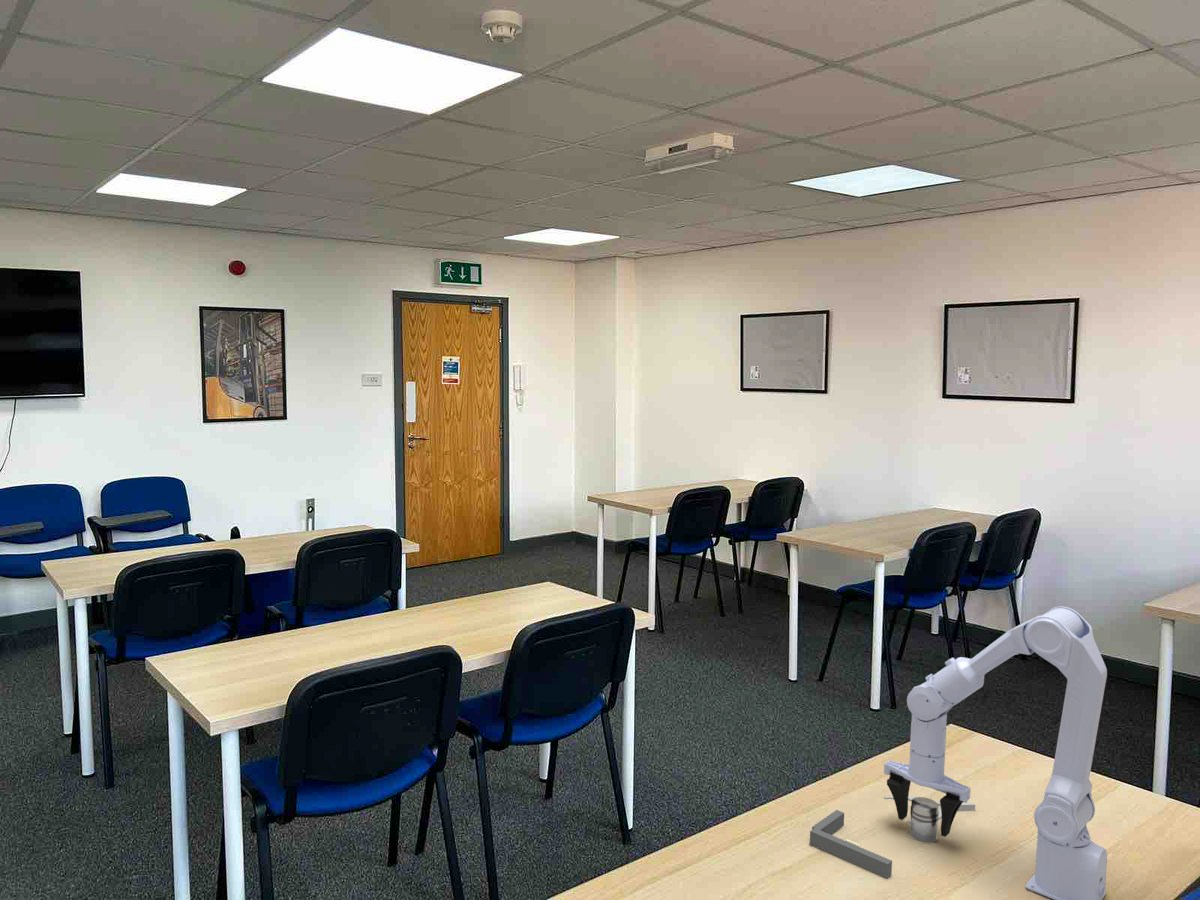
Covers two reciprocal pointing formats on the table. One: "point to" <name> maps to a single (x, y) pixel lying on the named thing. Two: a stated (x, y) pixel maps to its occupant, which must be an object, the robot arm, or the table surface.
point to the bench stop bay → (847, 846)
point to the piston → (924, 819)
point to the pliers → (963, 807)
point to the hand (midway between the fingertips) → (923, 825)
